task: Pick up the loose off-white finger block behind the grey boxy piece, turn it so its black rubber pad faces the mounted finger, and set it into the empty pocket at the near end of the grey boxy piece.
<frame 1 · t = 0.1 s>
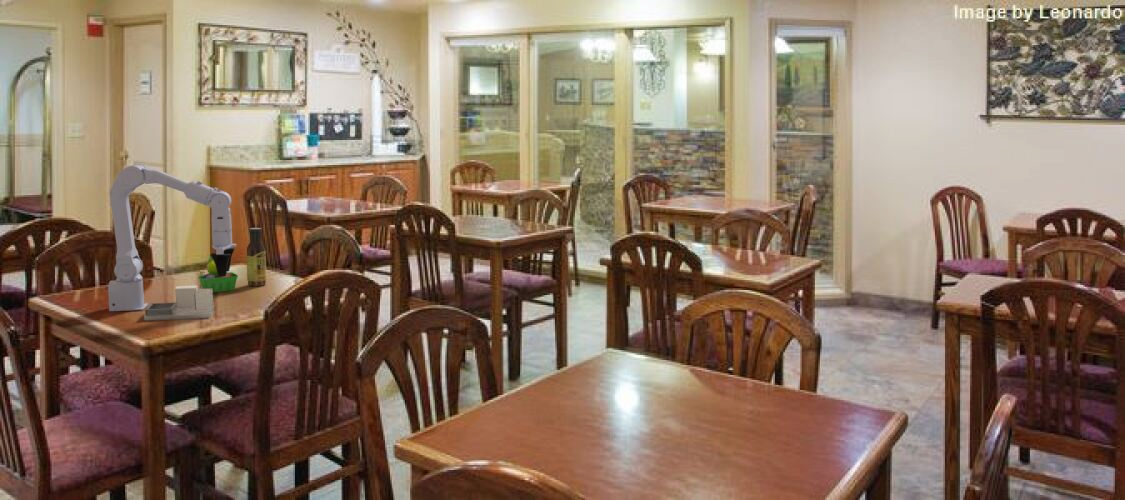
hand: (223, 273, 284), 10 cm above the table, tool pointing down, fingers open, 7 cm apart
fruit basket: (218, 290, 307), on the table
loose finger: (187, 305, 284), on the table
grey boxy piece: (180, 315, 271), on the table
sauce bottle: (257, 285, 316), on the table
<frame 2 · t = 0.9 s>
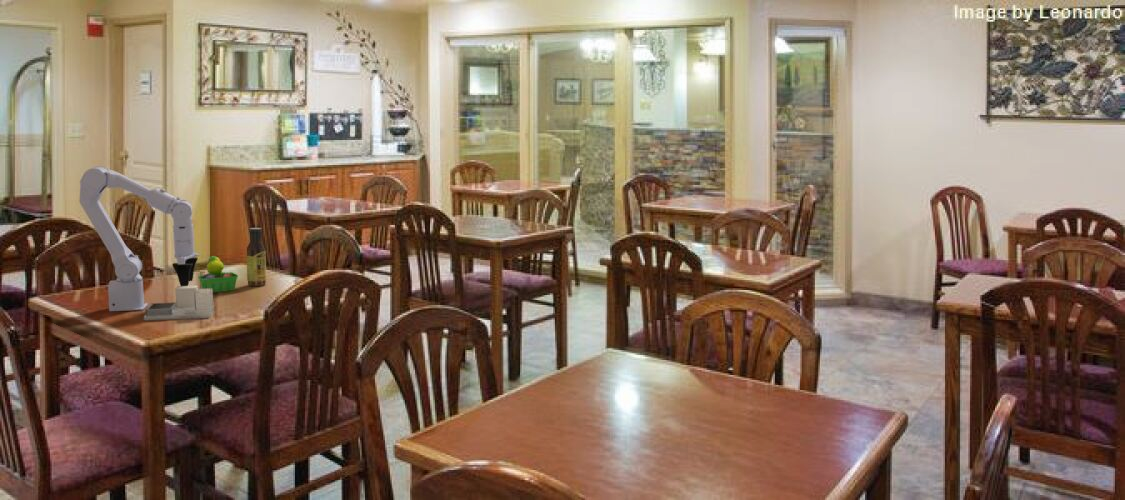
hand: (186, 283, 283), 7 cm above the table, tool pointing down, fingers open, 7 cm apart
nothing on the table moved.
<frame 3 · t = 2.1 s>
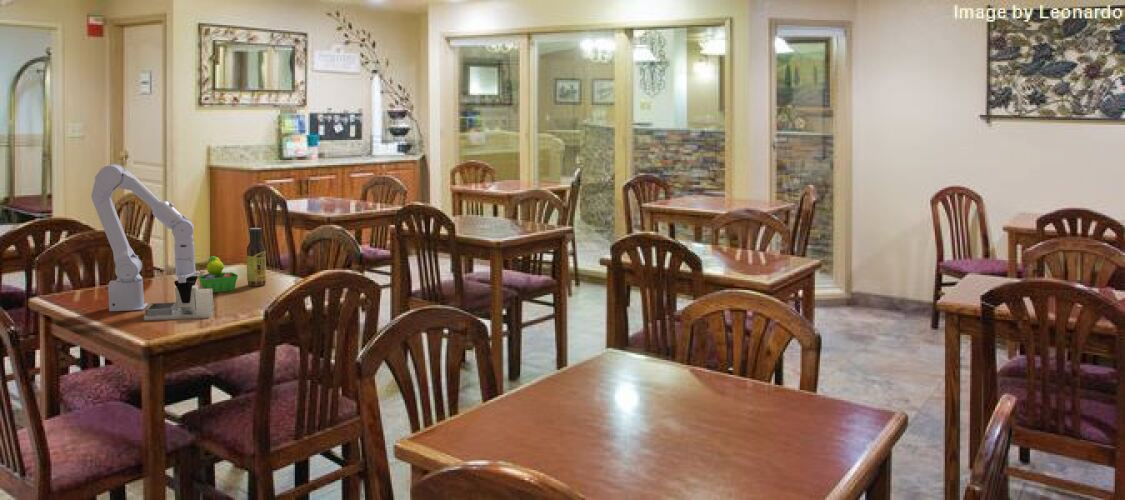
hand: (187, 301, 283), 1 cm above the table, tool pointing down, fingers closed on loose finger, 4 cm apart
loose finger: (187, 305, 284), on the table, touching gripper
everything else where it was.
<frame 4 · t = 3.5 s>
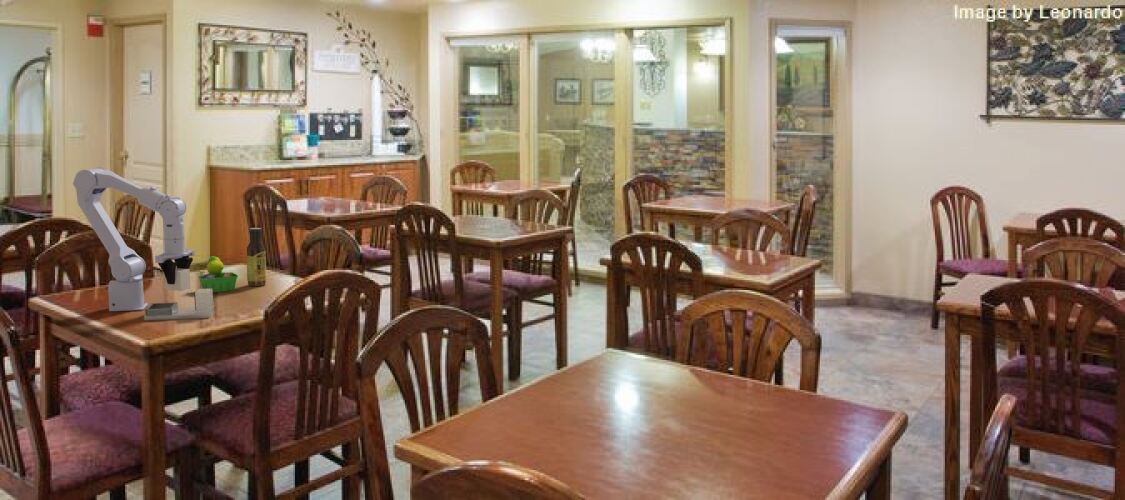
hand: (176, 282, 277), 8 cm above the table, tool pointing down, fingers closed on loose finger, 4 cm apart
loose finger: (177, 288, 277), point 6 cm above the table, touching gripper
everything else where it was.
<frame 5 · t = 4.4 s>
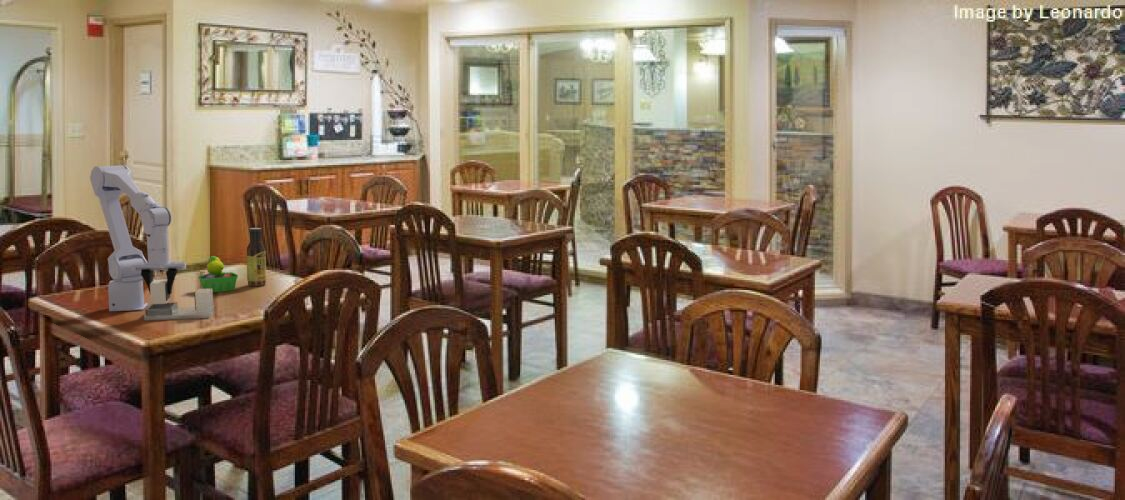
hand: (160, 294, 269), 7 cm above the table, tool pointing down, fingers closed on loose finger, 4 cm apart
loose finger: (160, 301, 269), point 4 cm above the table, touching gripper
everything else where it was.
when the fingers open (4 cm above the table, at t = 5.2 s): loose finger drops 1 cm, resting on grey boxy piece.
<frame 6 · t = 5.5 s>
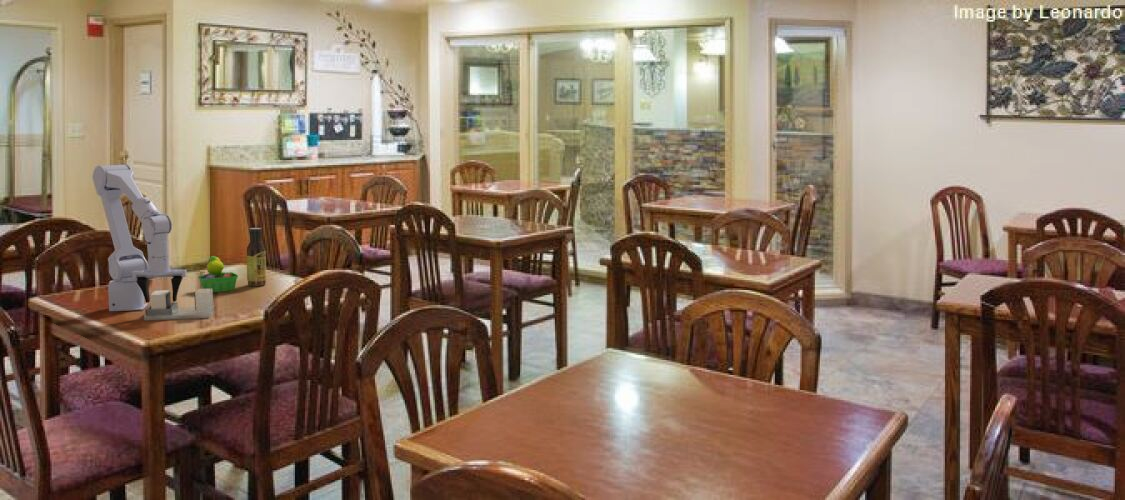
hand: (161, 301, 269), 4 cm above the table, tool pointing down, fingers open, 7 cm apart
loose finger: (161, 312, 269), point 1 cm above the table, touching grey boxy piece
everything else where it was.
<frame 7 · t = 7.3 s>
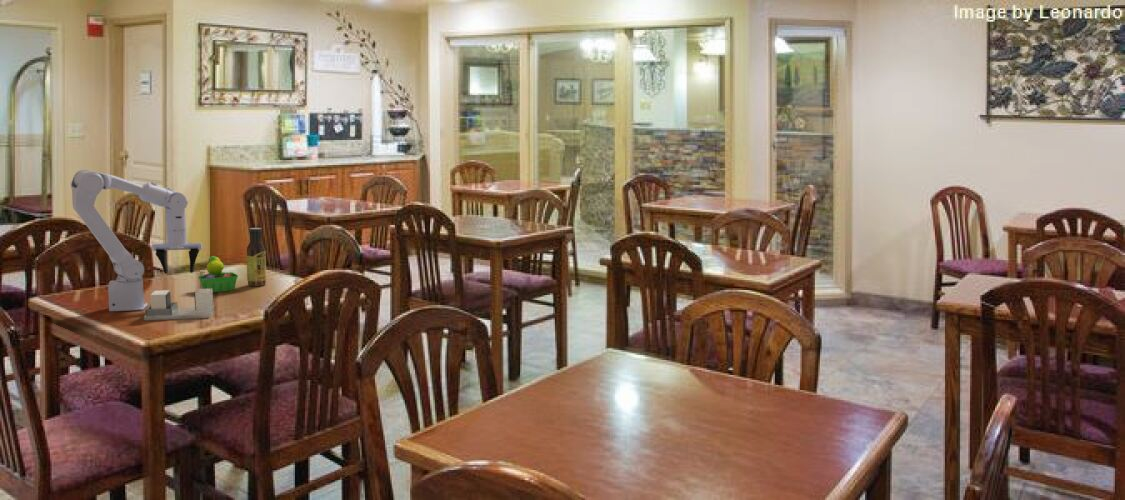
hand: (179, 272, 287), 9 cm above the table, tool pointing down, fingers open, 7 cm apart
nothing on the table moved.
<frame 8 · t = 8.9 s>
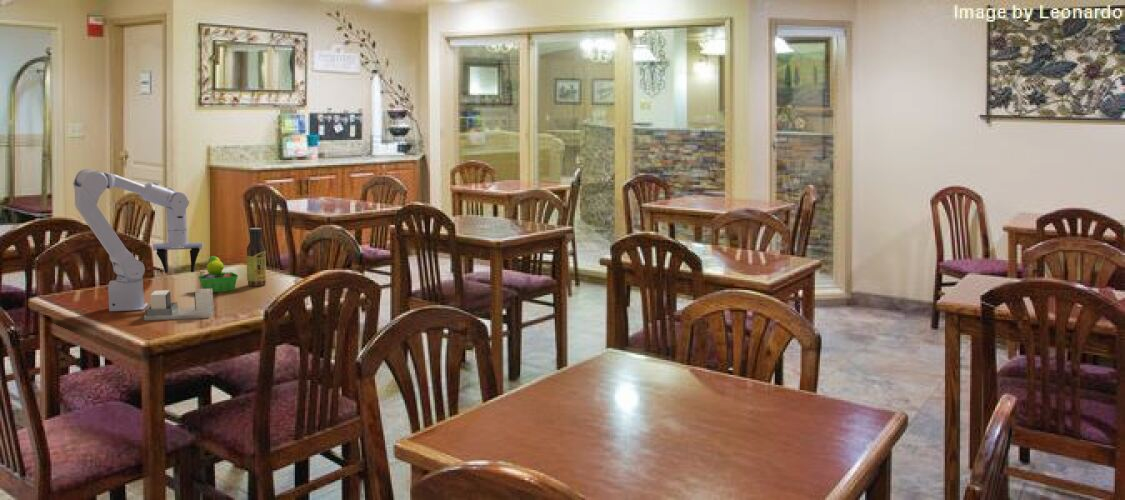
hand: (179, 272, 288), 9 cm above the table, tool pointing down, fingers open, 7 cm apart
nothing on the table moved.
at the end: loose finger 0.4 cm from the target spot on the grey boxy piece, point 1.2 cm above the grey boxy piece's base; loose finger tilted 0°; the gripper is holding nothing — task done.
